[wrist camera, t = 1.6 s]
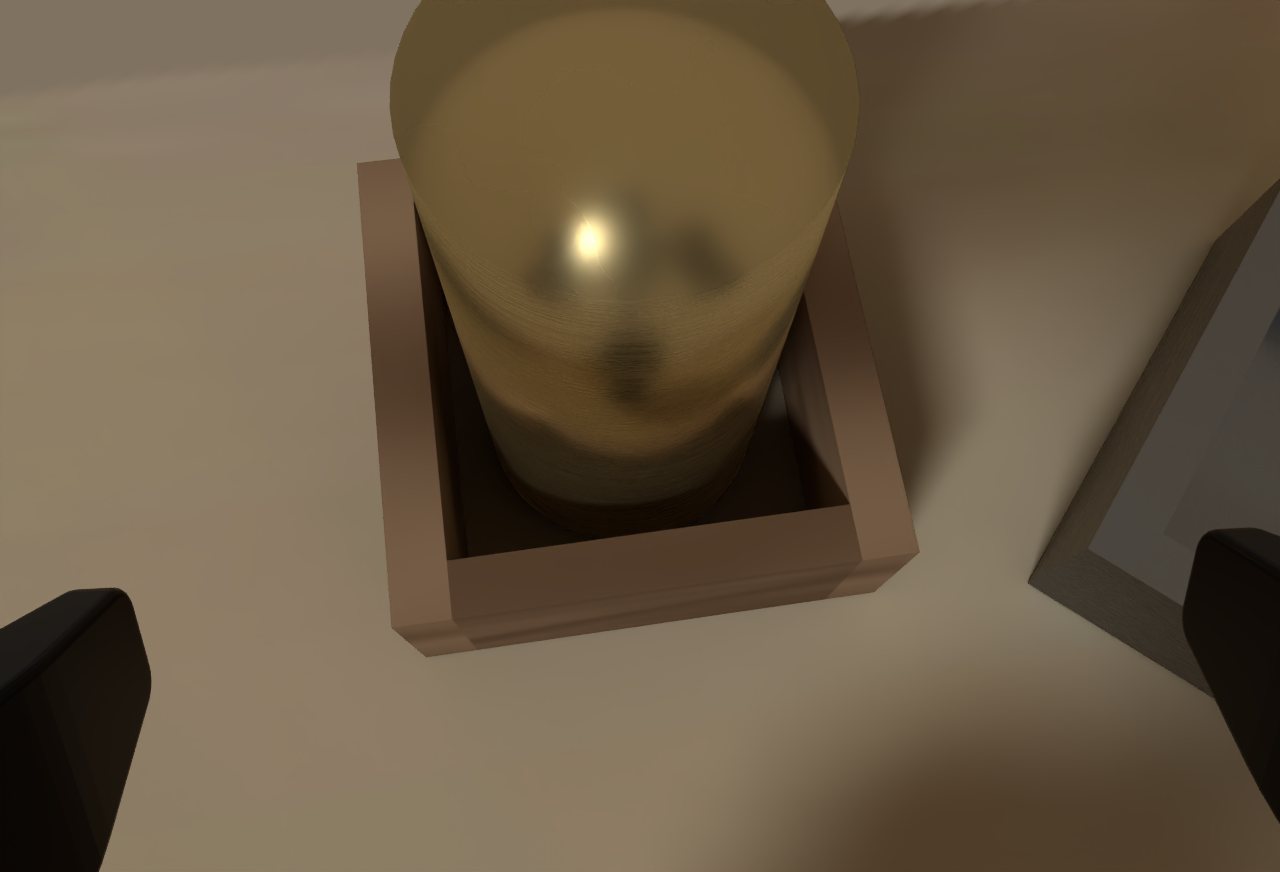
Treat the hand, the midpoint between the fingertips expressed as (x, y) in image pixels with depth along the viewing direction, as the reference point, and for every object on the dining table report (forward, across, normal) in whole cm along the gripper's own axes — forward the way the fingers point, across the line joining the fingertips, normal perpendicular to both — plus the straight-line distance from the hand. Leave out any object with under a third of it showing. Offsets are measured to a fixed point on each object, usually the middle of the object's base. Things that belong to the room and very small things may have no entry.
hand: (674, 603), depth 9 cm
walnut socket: (+13, 0, +4) cm, 14 cm away
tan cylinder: (+14, 0, +4) cm, 14 cm away
